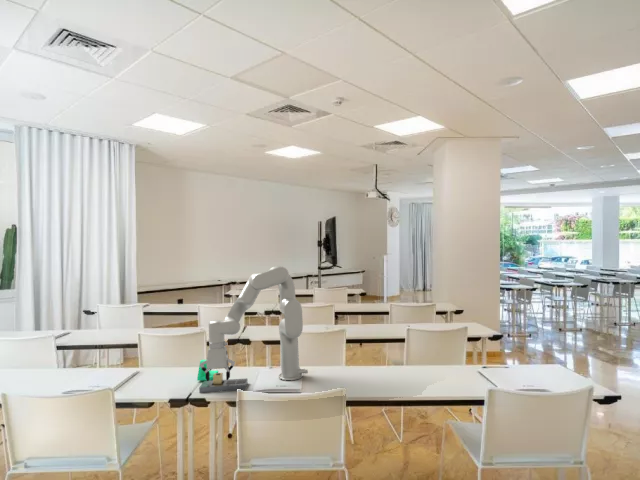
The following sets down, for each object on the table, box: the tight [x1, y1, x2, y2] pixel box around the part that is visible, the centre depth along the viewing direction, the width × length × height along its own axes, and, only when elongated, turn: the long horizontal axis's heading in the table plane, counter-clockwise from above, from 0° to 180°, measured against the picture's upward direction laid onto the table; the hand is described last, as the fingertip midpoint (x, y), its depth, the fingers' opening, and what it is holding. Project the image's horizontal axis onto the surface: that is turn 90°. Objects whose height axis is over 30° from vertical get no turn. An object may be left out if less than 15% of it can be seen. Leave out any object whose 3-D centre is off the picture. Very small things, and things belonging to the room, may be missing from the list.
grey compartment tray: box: [198, 377, 249, 394], centre depth 194 cm, size 22×10×3 cm, turn 94°
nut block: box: [213, 372, 224, 385], centre depth 194 cm, size 4×4×7 cm
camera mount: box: [196, 359, 219, 381], centre depth 210 cm, size 12×8×10 cm, turn 177°
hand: (217, 379), depth 194 cm, fingers open, 9 cm apart
